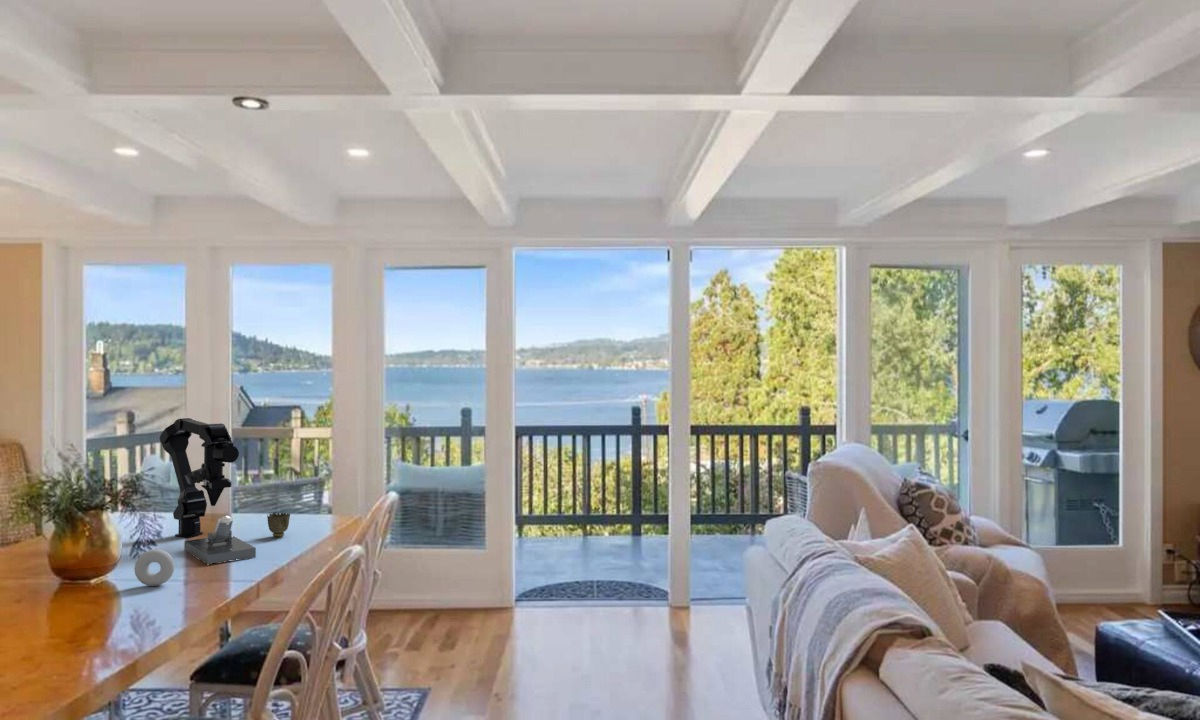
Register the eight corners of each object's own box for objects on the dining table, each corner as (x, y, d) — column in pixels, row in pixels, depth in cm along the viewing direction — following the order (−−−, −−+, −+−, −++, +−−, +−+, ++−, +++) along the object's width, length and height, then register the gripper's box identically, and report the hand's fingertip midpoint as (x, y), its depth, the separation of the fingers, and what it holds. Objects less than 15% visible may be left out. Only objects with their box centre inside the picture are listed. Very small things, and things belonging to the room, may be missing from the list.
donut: (176, 583, 208) (176, 547, 208) (171, 586, 205) (172, 550, 205) (137, 584, 206) (137, 548, 206) (131, 588, 203) (132, 551, 203)
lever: (211, 539, 240) (218, 514, 235) (224, 537, 242) (232, 512, 237) (213, 546, 238) (220, 521, 233) (226, 544, 241) (234, 519, 236)
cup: (284, 539, 259) (284, 516, 259) (263, 539, 260) (263, 516, 260) (293, 534, 267) (293, 512, 267) (272, 534, 267) (273, 511, 267)
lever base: (184, 550, 244) (184, 528, 244) (230, 543, 253) (230, 522, 253) (207, 565, 226) (207, 542, 226) (255, 557, 236) (255, 535, 236)
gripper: (179, 459, 258) (179, 504, 258) (196, 465, 244) (195, 513, 244) (214, 457, 265) (214, 501, 265) (232, 462, 252) (231, 508, 252)
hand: (213, 505), depth 256 cm, fingers closed
